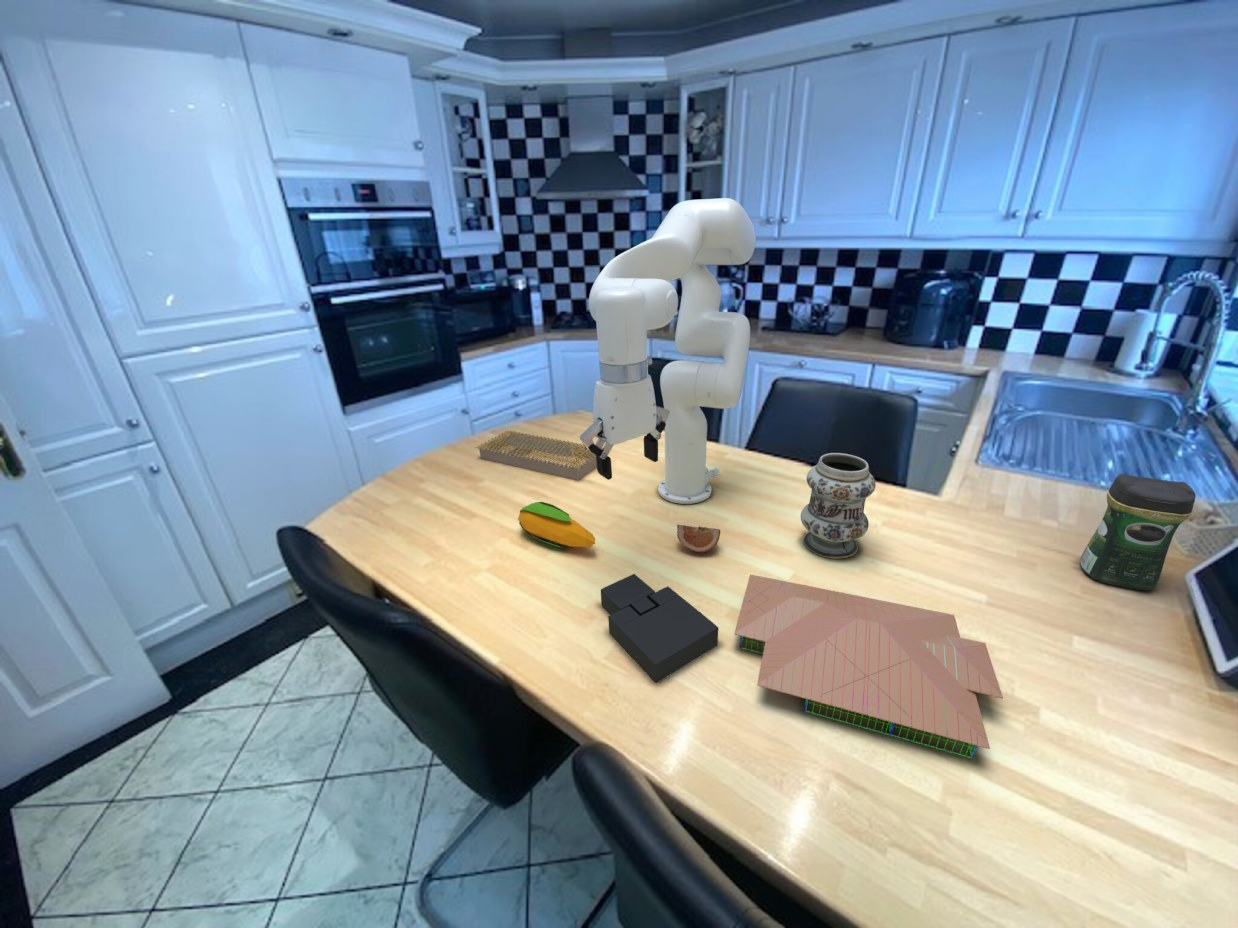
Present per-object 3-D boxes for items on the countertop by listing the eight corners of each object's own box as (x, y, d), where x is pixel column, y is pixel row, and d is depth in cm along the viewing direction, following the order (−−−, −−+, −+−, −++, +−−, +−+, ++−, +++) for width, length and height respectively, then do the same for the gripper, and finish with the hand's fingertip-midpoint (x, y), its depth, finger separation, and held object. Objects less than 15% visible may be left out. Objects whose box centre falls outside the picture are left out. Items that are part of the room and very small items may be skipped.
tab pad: (634, 589, 90) (634, 573, 88) (665, 616, 83) (665, 600, 82) (601, 605, 86) (600, 589, 85) (631, 635, 80) (630, 618, 78)
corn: (531, 489, 109) (605, 514, 98) (537, 518, 113) (609, 545, 102) (506, 506, 104) (582, 534, 93) (513, 536, 107) (586, 566, 97)
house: (1011, 775, 58) (1033, 726, 54) (721, 692, 69) (724, 648, 66) (970, 635, 77) (984, 593, 73) (748, 589, 88) (752, 550, 85)
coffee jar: (1143, 570, 89) (1190, 475, 81) (1159, 597, 82) (1212, 497, 74) (1073, 556, 93) (1110, 465, 85) (1083, 580, 87) (1125, 485, 79)
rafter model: (476, 458, 144) (472, 439, 141) (509, 440, 155) (506, 422, 152) (579, 482, 128) (577, 460, 125) (608, 460, 139) (606, 439, 137)
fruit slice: (673, 553, 99) (673, 532, 97) (680, 535, 105) (680, 514, 102) (716, 560, 96) (717, 538, 94) (721, 540, 102) (722, 519, 100)
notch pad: (667, 602, 86) (667, 585, 85) (717, 644, 77) (718, 627, 76) (609, 632, 80) (607, 615, 79) (655, 682, 71) (655, 664, 70)
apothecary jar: (864, 534, 102) (880, 453, 94) (862, 568, 92) (880, 481, 84) (801, 523, 107) (811, 444, 99) (793, 554, 97) (804, 470, 89)
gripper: (652, 355, 86) (654, 446, 94) (563, 377, 77) (574, 475, 85) (681, 364, 80) (681, 460, 88) (589, 388, 72) (598, 492, 80)
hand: (628, 467), depth 87 cm, fingers open, 9 cm apart
